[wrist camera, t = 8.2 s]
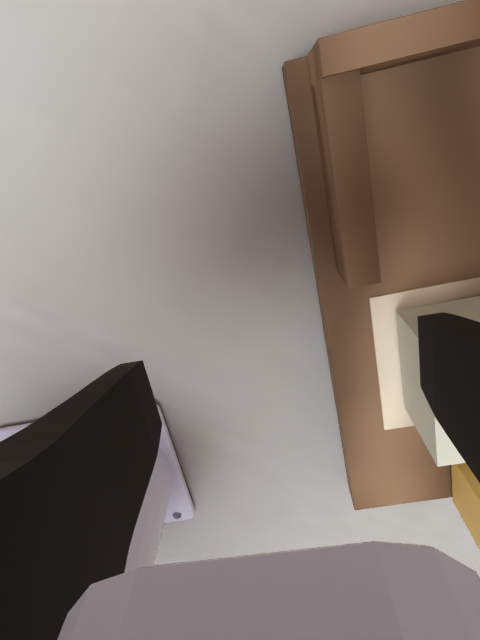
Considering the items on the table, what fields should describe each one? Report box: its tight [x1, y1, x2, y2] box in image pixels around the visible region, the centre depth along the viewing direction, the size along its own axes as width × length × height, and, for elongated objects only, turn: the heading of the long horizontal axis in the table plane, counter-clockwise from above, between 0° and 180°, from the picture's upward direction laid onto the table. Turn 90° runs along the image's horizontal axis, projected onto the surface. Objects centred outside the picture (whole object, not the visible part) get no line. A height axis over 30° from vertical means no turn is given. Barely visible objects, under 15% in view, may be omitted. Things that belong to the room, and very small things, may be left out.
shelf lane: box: [282, 0, 480, 510], centre depth 18 cm, size 12×22×4 cm, turn 12°
